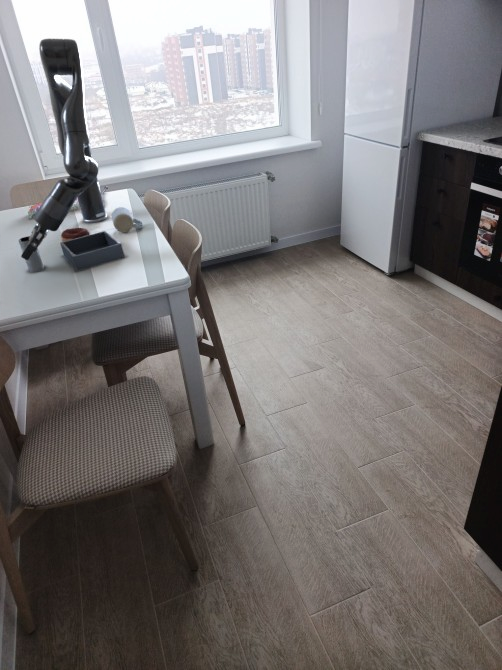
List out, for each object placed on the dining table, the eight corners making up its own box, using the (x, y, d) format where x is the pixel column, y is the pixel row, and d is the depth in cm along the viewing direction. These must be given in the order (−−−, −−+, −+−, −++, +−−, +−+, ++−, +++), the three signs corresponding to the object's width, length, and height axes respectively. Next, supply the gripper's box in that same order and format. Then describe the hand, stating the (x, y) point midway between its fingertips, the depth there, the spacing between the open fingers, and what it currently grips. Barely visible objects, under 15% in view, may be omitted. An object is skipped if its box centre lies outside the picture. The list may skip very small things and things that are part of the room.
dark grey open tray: (63, 255, 160) (59, 242, 158) (108, 243, 167) (105, 230, 165) (77, 271, 148) (73, 256, 146) (124, 257, 155) (121, 243, 152)
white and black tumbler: (38, 272, 150) (28, 241, 144) (26, 272, 151) (15, 241, 145) (46, 266, 154) (36, 236, 148) (34, 266, 155) (24, 236, 149)
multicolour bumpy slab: (100, 200, 217) (97, 188, 214) (99, 209, 204) (96, 197, 202) (31, 209, 212) (28, 198, 209) (26, 219, 200) (22, 207, 197)
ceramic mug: (115, 235, 174) (111, 214, 170) (114, 228, 181) (109, 208, 177) (144, 230, 177) (140, 210, 173) (142, 223, 183) (138, 204, 179)
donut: (92, 242, 170) (89, 231, 168) (64, 248, 167) (61, 237, 165) (89, 233, 178) (86, 223, 176) (62, 239, 175) (59, 229, 173)
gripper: (43, 198, 149) (17, 239, 153) (38, 211, 137) (10, 255, 141) (65, 212, 153) (39, 251, 157) (62, 226, 141) (34, 268, 145)
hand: (26, 253), depth 149 cm, fingers open, 8 cm apart
